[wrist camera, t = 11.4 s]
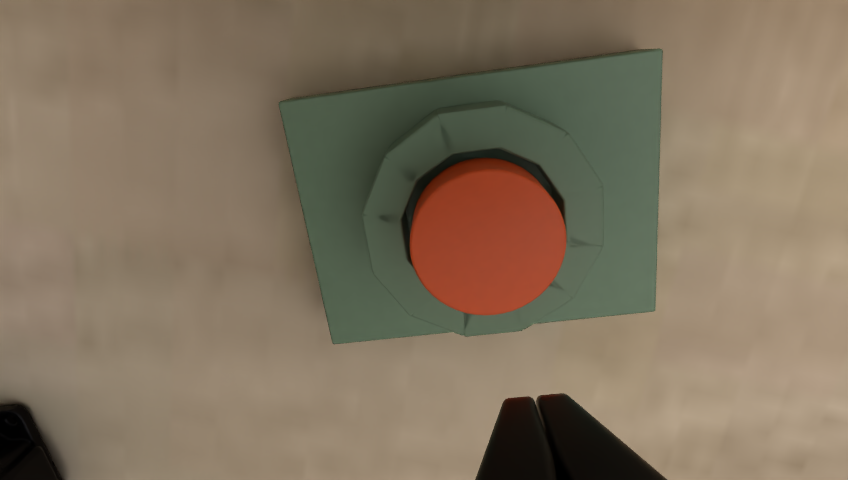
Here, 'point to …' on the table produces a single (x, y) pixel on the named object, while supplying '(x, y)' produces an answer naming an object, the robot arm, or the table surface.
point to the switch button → (486, 237)
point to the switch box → (482, 138)
